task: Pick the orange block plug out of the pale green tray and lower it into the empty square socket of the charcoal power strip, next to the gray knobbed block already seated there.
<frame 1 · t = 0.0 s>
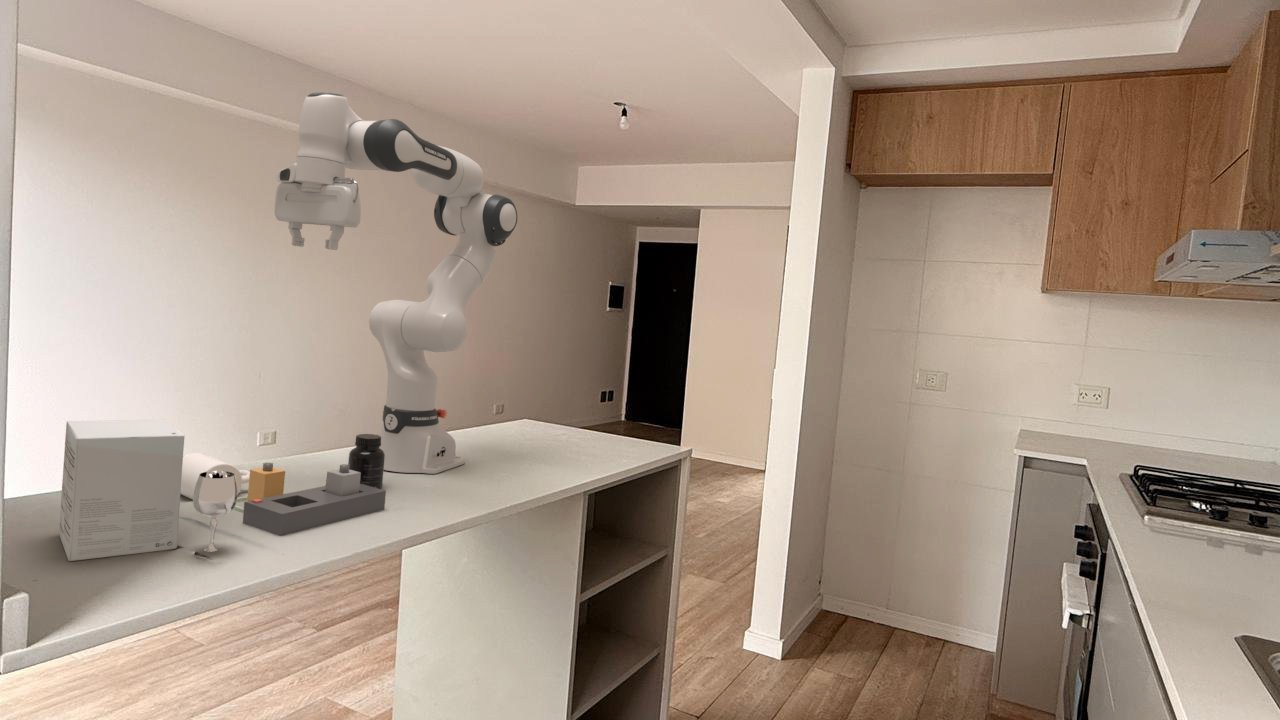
hand: (314, 247, 149), 48 cm above the table, tool pointing down, fingers open, 8 cm apart
supplement bottle: (363, 495, 153), on the table
plug: (264, 509, 135), point 1 cm above the table, touching tray
wineglass: (211, 554, 113), on the table
tray: (264, 512, 135), on the table
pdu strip: (317, 524, 132), on the table
gray knobbed block: (340, 510, 136), point 1 cm above the table, touching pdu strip
mug: (215, 500, 139), on the table
supplement box: (117, 543, 114), on the table
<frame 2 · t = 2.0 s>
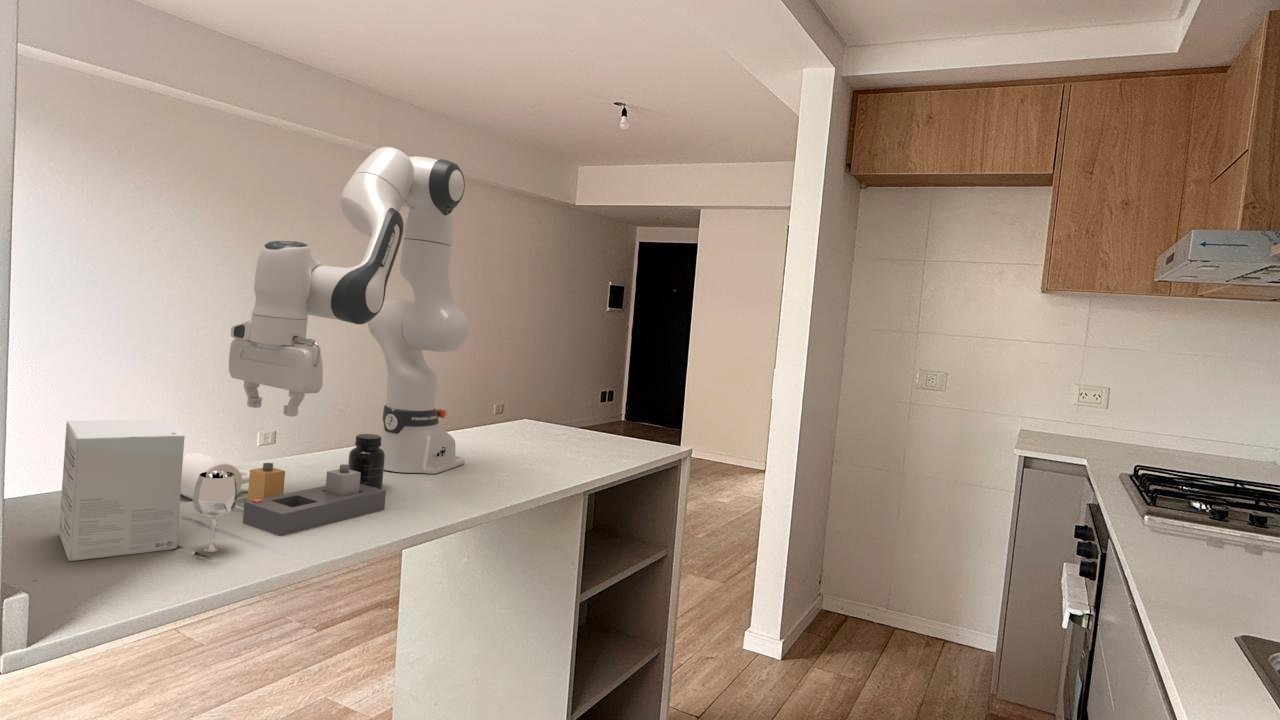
hand: (271, 411, 133), 18 cm above the table, tool pointing down, fingers open, 8 cm apart
nothing on the table moved.
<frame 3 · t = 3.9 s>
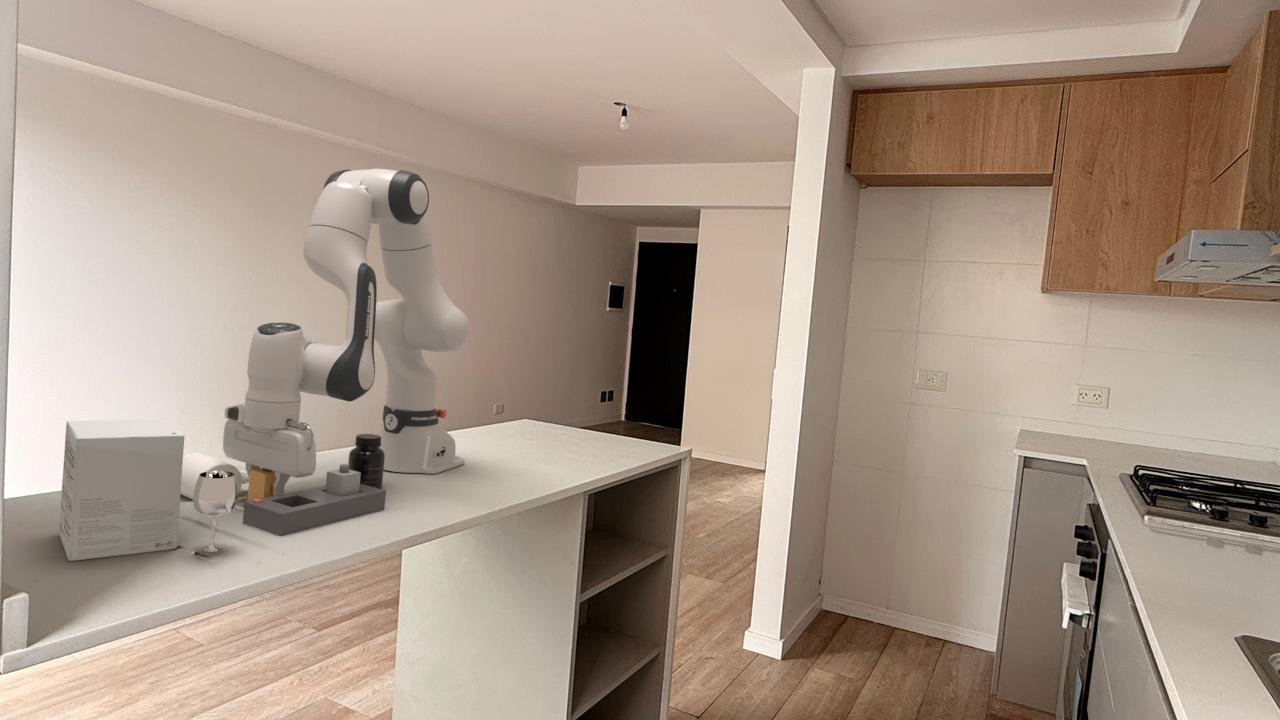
hand: (266, 491, 135), 4 cm above the table, tool pointing down, fingers closed on plug, 4 cm apart
plug: (264, 509, 135), point 1 cm above the table, touching gripper, tray
everything else where it was.
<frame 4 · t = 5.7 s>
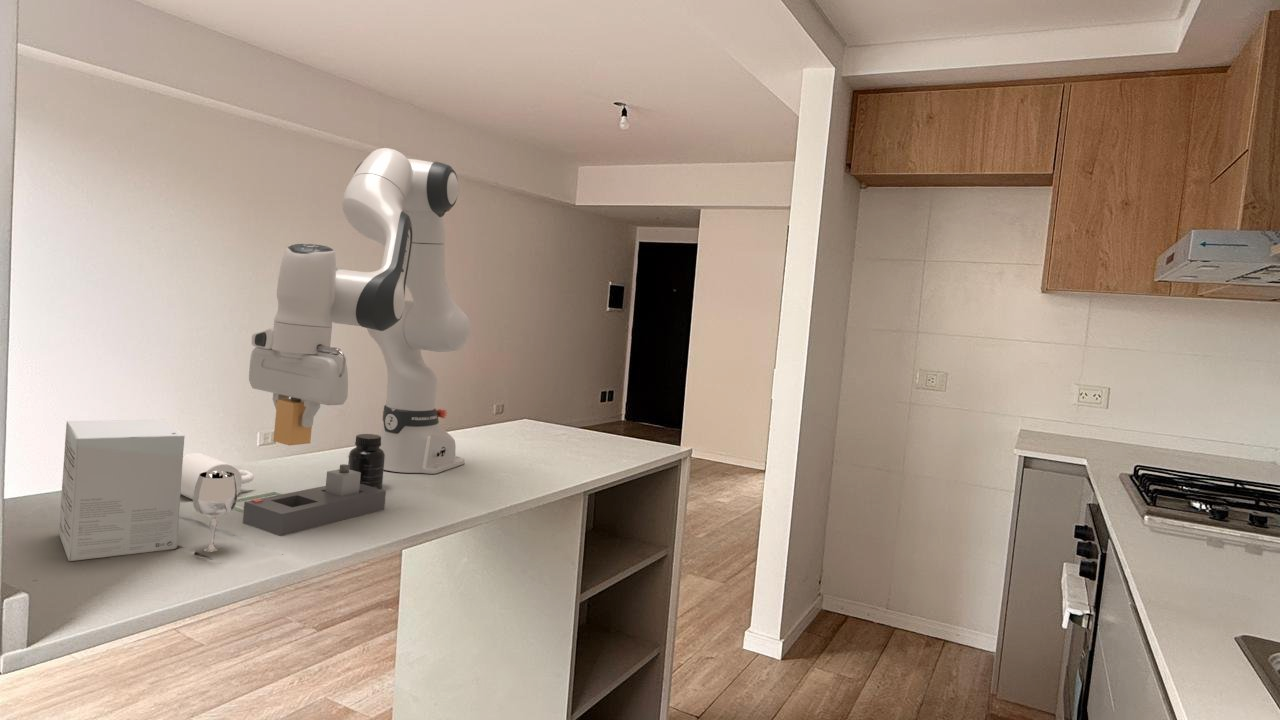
hand: (294, 423, 126), 18 cm above the table, tool pointing down, fingers closed on plug, 4 cm apart
plug: (291, 442, 127), point 15 cm above the table, touching gripper
everything else where it was.
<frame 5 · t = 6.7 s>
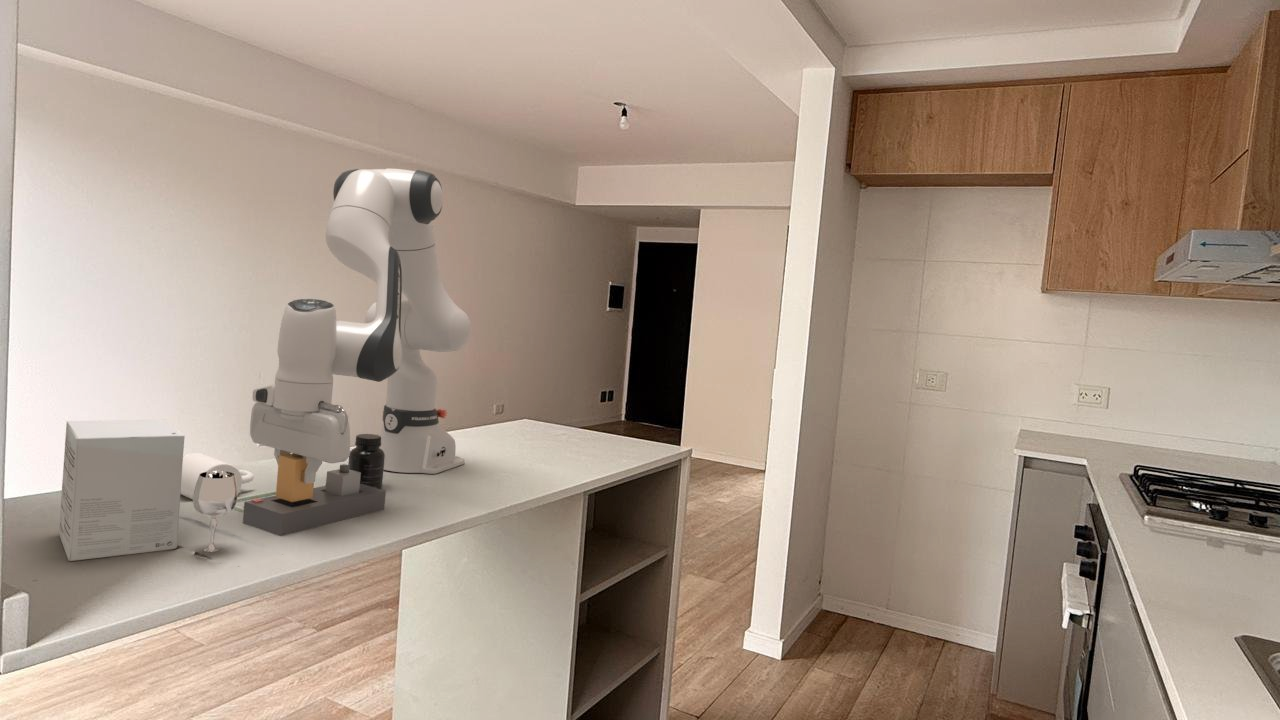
hand: (296, 479, 127), 9 cm above the table, tool pointing down, fingers closed on plug, 4 cm apart
plug: (294, 497, 127), point 6 cm above the table, touching gripper
everything else where it was.
when the fingers open (6 cm above the table, at t = 7.6 s): plug drops 1 cm, resting on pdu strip.
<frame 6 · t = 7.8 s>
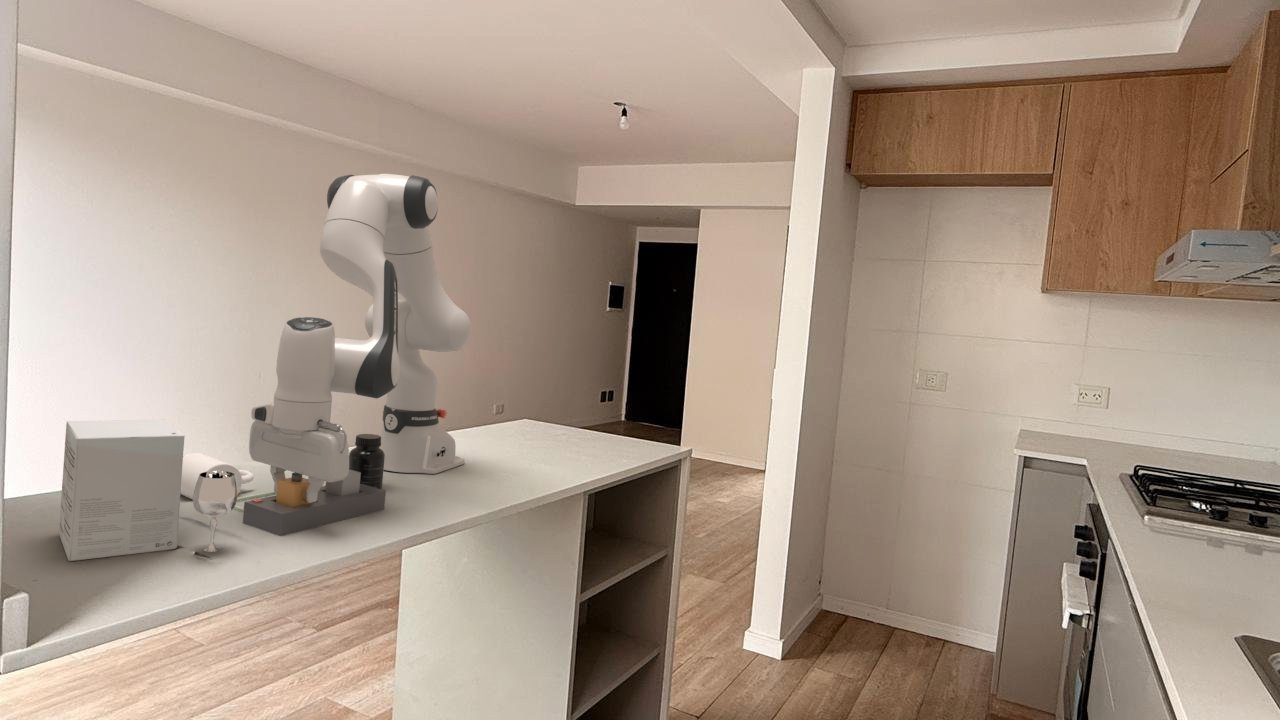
hand: (295, 497, 127), 6 cm above the table, tool pointing down, fingers open, 5 cm apart
plug: (292, 521, 127), point 2 cm above the table, touching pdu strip
everything else where it was.
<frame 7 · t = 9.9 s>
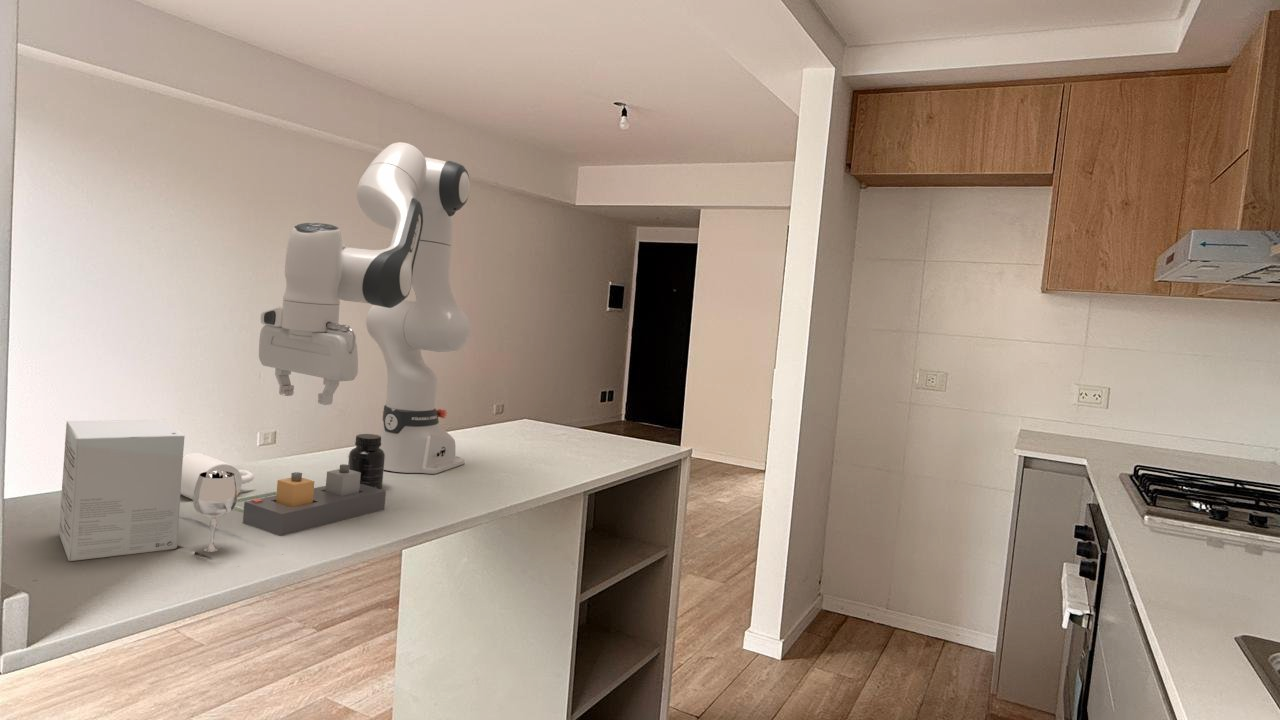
hand: (305, 399, 130), 22 cm above the table, tool pointing down, fingers open, 8 cm apart
nothing on the table moved.
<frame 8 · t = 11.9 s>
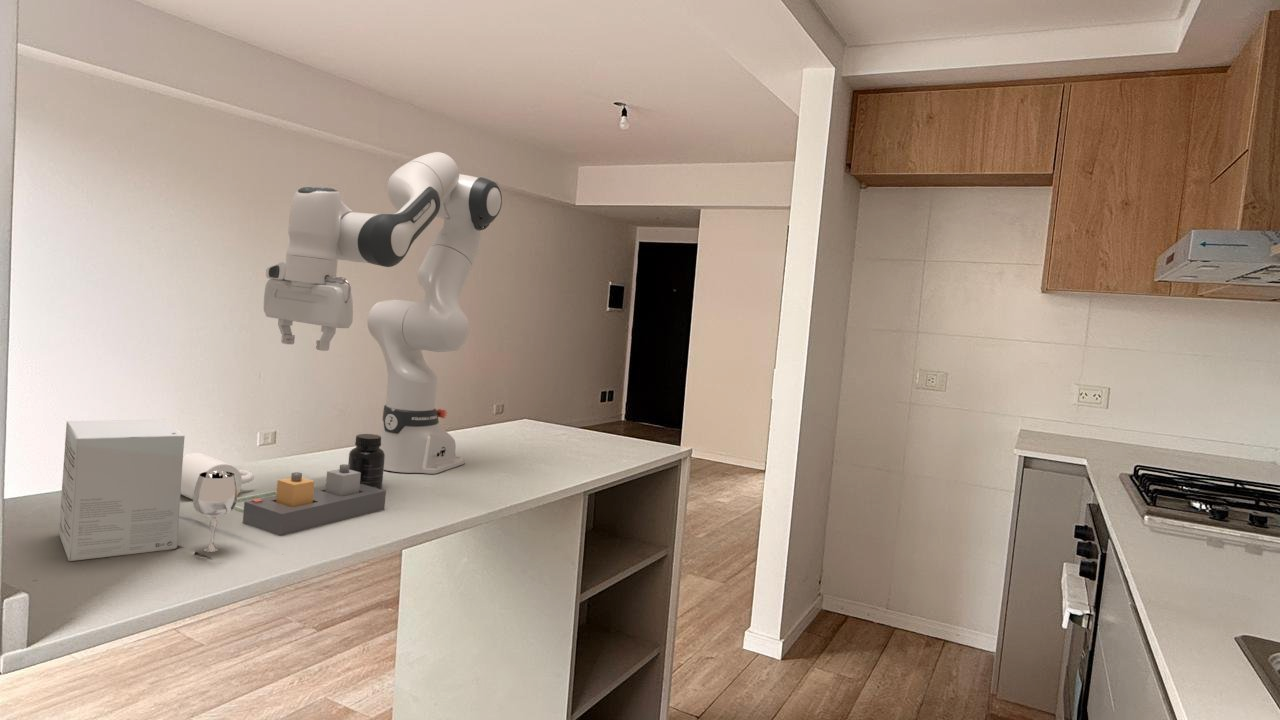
hand: (304, 347, 143), 29 cm above the table, tool pointing down, fingers open, 8 cm apart
nothing on the table moved.
at the end: plug 0.0 cm from the target spot on the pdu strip, point 1.5 cm above the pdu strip's base; plug tilted 0°; the gripper is holding nothing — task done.
